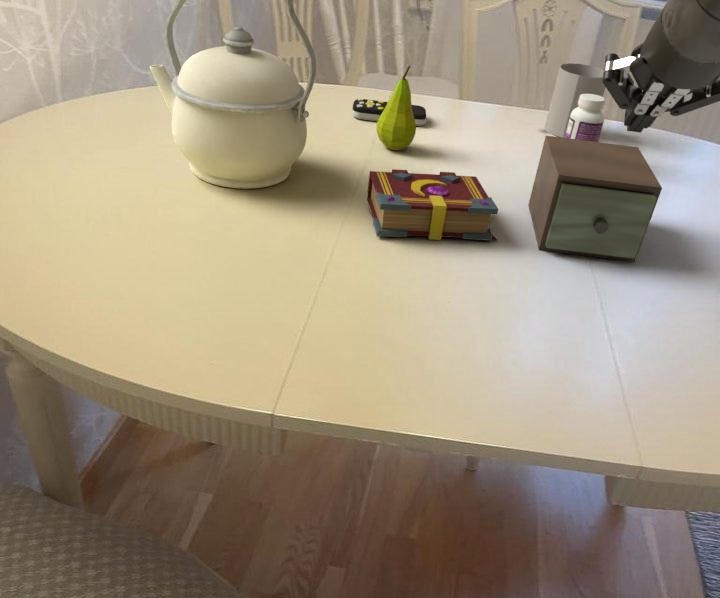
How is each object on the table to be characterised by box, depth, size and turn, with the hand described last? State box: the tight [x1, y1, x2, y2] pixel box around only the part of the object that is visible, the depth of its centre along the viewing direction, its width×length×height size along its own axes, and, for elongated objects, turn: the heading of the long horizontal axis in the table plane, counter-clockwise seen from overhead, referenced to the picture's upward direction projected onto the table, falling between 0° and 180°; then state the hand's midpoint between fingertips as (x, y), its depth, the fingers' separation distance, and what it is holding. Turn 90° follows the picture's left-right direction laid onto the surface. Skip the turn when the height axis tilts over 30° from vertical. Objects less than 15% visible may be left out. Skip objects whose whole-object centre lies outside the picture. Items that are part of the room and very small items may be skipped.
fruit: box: [376, 65, 417, 151], centre depth 116 cm, size 6×6×12 cm
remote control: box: [351, 97, 427, 127], centre depth 131 cm, size 6×13×2 cm, turn 88°
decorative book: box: [366, 169, 499, 241], centre depth 99 cm, size 11×16×5 cm
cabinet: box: [528, 135, 663, 263], centre depth 99 cm, size 15×13×10 cm
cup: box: [544, 62, 606, 138], centre depth 132 cm, size 8×8×10 cm
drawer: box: [545, 182, 657, 259], centre depth 98 cm, size 15×11×8 cm
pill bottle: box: [565, 94, 606, 142], centre depth 121 cm, size 5×5×10 cm
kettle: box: [149, 0, 318, 190], centre depth 99 cm, size 25×18×25 cm
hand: (633, 123), depth 82 cm, fingers closed
